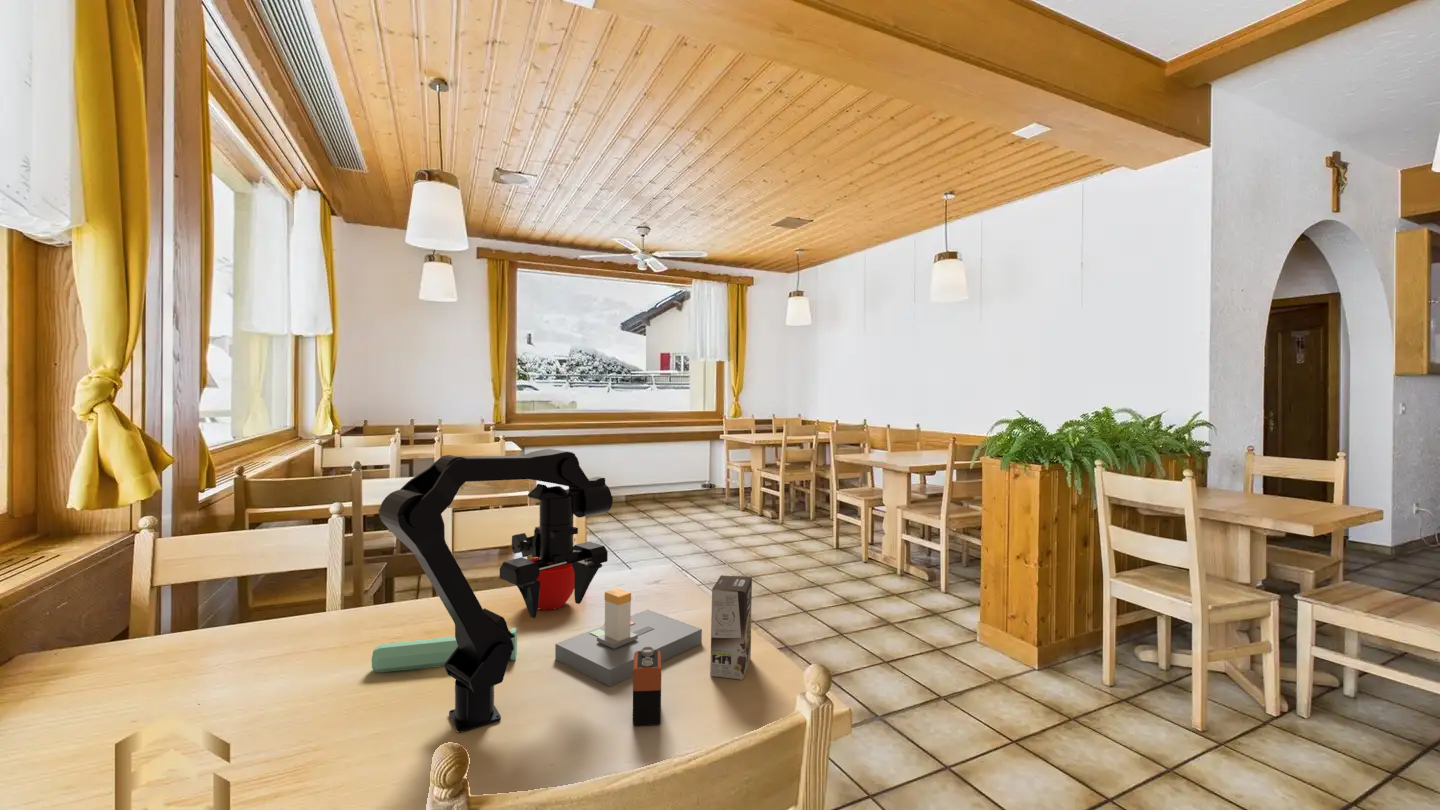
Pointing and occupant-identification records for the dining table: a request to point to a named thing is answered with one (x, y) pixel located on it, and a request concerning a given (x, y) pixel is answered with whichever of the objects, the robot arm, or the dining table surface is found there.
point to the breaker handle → (617, 619)
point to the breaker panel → (627, 646)
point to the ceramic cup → (555, 586)
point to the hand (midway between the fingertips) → (556, 610)
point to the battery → (647, 687)
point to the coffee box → (731, 627)
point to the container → (419, 653)
